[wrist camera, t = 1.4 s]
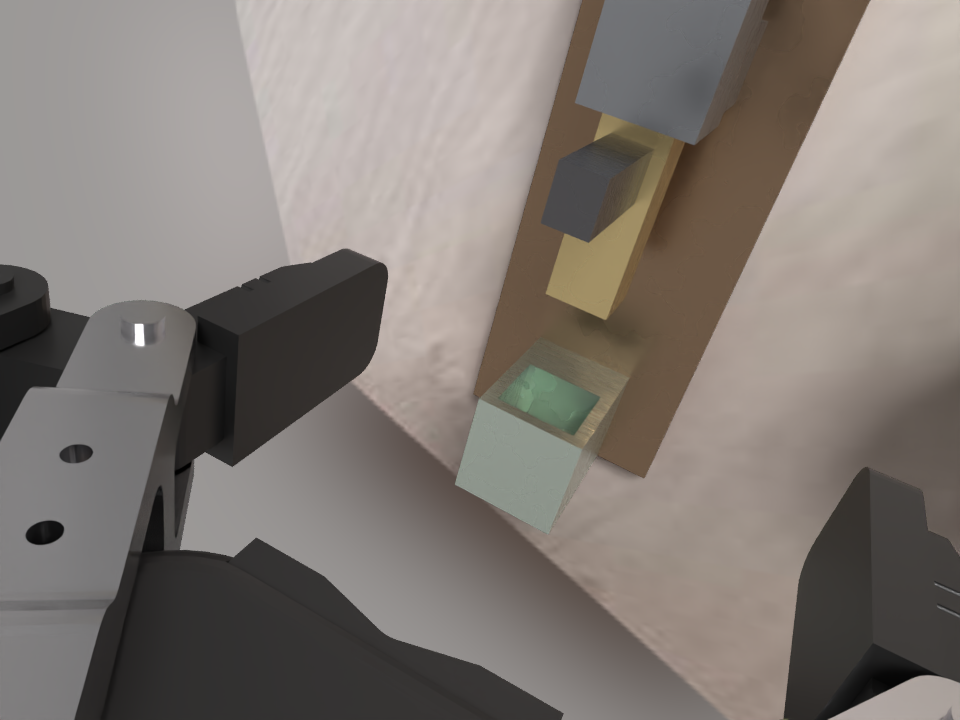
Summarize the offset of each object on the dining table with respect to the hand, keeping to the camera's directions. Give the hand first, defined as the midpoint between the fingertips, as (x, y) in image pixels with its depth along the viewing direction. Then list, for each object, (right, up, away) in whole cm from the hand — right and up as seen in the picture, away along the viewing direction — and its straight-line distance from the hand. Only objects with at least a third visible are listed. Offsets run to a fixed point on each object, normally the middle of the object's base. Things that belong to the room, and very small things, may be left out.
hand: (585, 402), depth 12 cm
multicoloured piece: (+6, +10, +20) cm, 23 cm away
